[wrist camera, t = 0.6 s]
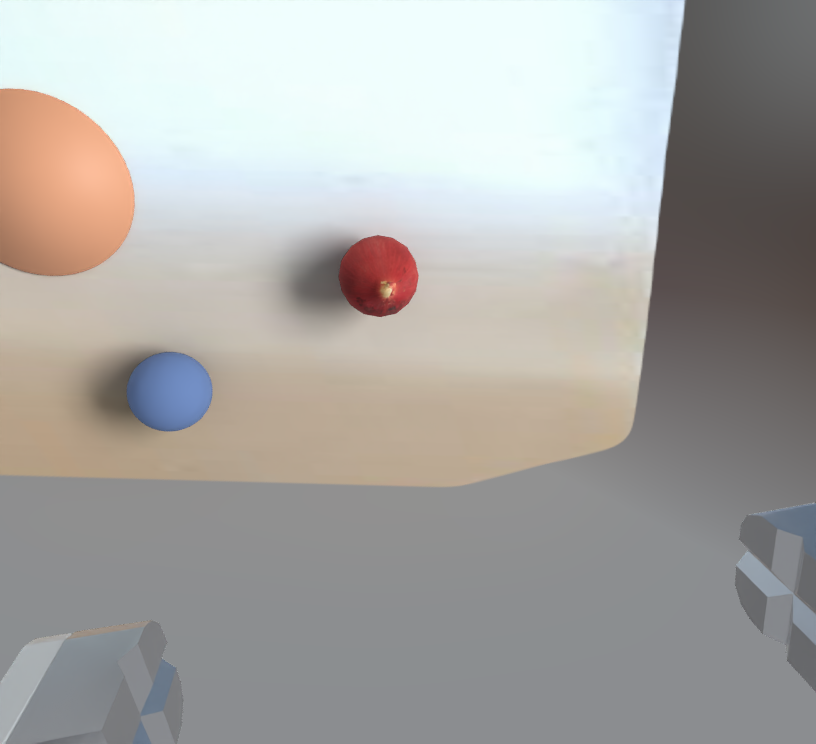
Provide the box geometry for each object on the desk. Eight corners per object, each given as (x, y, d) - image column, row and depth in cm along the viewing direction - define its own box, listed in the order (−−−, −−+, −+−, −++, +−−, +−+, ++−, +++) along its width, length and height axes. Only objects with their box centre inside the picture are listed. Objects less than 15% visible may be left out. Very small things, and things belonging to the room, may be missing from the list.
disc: (-115, 140, 36) (-117, 140, 36) (56, 54, 36) (55, 54, 35) (22, 302, 41) (21, 303, 41) (169, 228, 41) (169, 229, 41)
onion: (412, 290, 47) (436, 324, 40) (344, 306, 46) (355, 343, 39) (400, 220, 44) (423, 242, 37) (327, 235, 44) (337, 261, 37)
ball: (120, 361, 45) (98, 396, 39) (188, 327, 45) (176, 358, 39) (165, 419, 47) (151, 459, 42) (230, 387, 47) (224, 423, 42)
